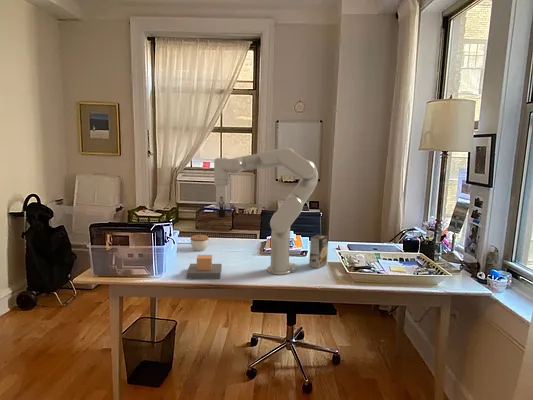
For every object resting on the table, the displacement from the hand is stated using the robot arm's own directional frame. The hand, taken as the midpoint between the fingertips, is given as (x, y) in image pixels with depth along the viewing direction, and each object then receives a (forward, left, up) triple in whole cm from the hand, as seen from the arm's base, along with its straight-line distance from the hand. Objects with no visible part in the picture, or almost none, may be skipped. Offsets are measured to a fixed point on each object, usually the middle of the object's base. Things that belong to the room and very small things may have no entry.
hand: (222, 215), depth 203 cm
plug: (+8, +10, -27) cm, 30 cm away
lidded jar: (+15, -32, -28) cm, 45 cm away
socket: (+8, +10, -28) cm, 31 cm away
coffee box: (-52, -4, -28) cm, 59 cm away
